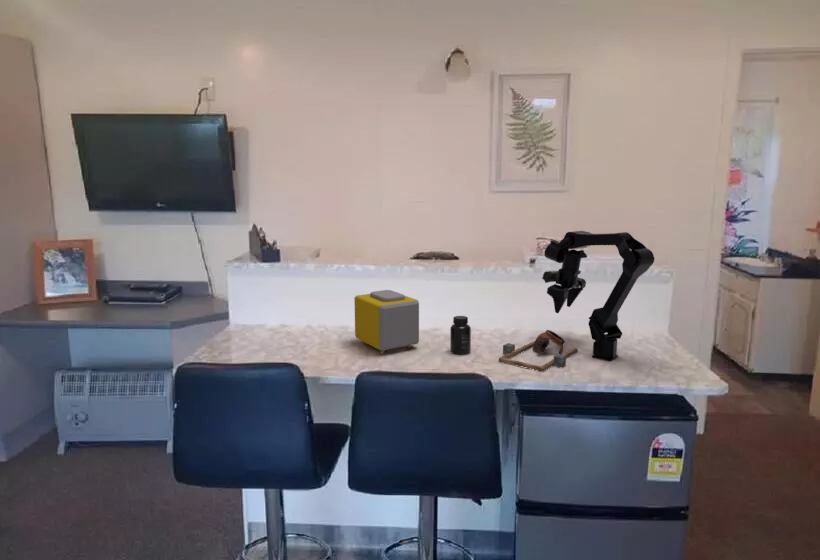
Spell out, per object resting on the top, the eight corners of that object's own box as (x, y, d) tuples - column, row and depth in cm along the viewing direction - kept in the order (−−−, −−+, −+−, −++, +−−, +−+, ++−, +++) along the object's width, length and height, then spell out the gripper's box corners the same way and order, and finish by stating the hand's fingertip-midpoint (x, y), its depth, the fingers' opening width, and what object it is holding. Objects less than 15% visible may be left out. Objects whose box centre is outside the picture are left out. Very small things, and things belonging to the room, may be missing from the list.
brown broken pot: (535, 346, 209) (548, 327, 207) (557, 363, 204) (571, 343, 202) (523, 347, 198) (537, 326, 197) (546, 364, 194) (560, 343, 192)
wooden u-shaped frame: (585, 353, 199) (585, 344, 199) (550, 374, 180) (551, 363, 180) (529, 342, 212) (529, 333, 212) (491, 359, 193) (491, 350, 192)
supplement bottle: (470, 349, 204) (471, 315, 202) (470, 355, 198) (471, 320, 195) (450, 348, 205) (450, 314, 203) (449, 354, 198) (450, 319, 196)
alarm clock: (421, 349, 205) (421, 296, 201) (381, 356, 196) (380, 302, 193) (392, 335, 221) (392, 286, 217) (354, 342, 213) (353, 291, 209)
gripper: (560, 256, 215) (553, 297, 220) (536, 266, 201) (529, 309, 206) (590, 264, 209) (582, 306, 214) (567, 274, 195) (559, 319, 200)
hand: (562, 309), depth 209 cm, fingers open, 9 cm apart
